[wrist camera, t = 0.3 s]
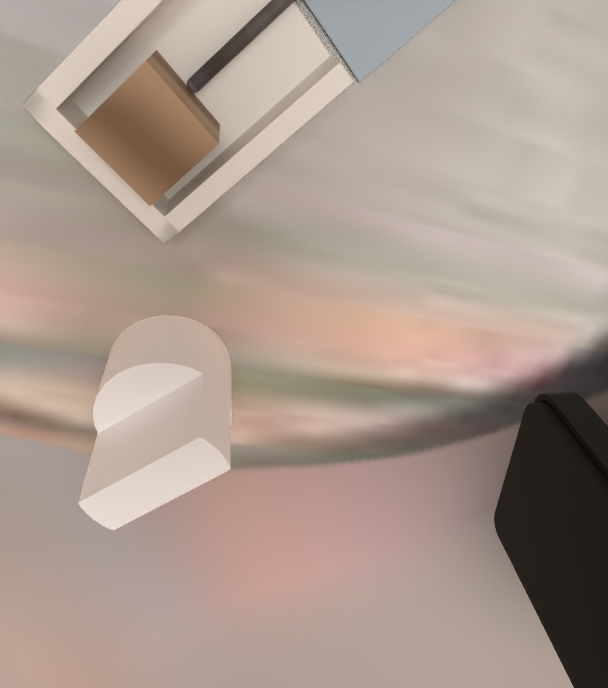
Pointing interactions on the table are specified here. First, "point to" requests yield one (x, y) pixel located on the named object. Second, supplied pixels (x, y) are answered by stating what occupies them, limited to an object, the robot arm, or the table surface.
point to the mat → (372, 27)
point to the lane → (217, 95)
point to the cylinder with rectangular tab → (158, 419)
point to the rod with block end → (164, 117)
